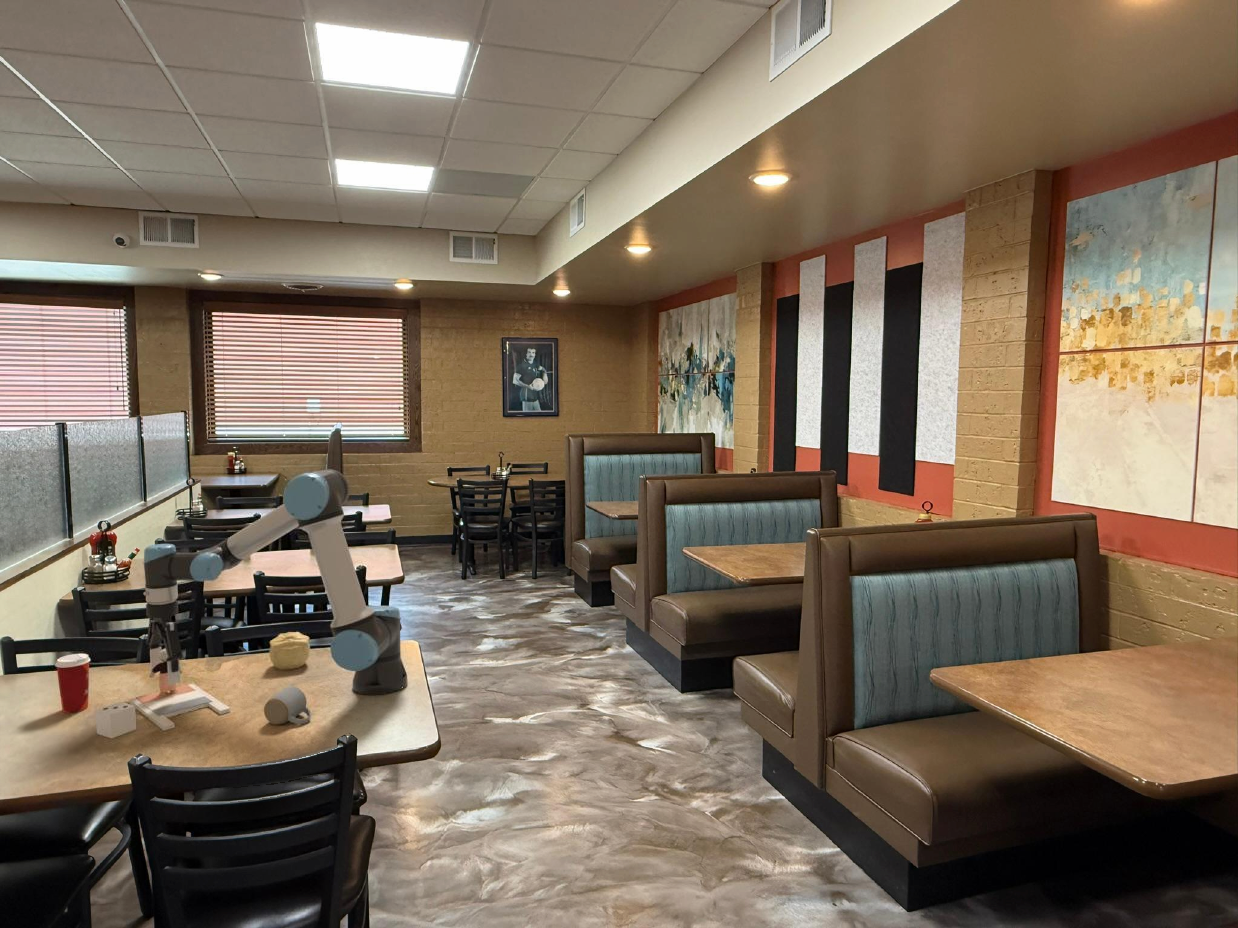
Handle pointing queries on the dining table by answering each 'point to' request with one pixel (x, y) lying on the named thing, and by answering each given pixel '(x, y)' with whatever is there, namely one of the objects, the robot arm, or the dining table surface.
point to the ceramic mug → (287, 707)
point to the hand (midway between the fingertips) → (165, 676)
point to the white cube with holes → (115, 719)
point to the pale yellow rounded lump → (289, 650)
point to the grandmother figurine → (164, 675)
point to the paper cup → (73, 682)
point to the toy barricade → (175, 704)
